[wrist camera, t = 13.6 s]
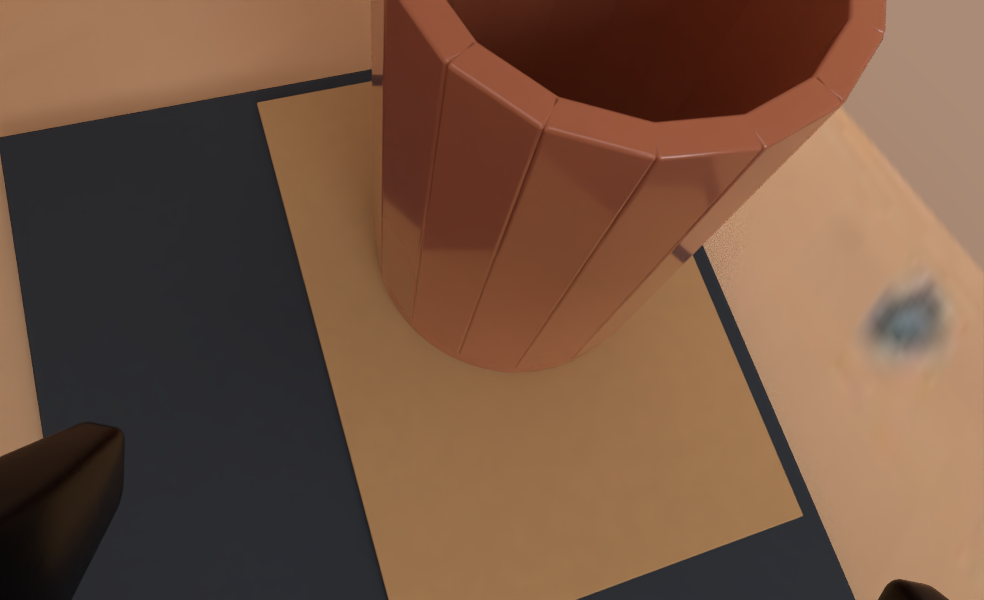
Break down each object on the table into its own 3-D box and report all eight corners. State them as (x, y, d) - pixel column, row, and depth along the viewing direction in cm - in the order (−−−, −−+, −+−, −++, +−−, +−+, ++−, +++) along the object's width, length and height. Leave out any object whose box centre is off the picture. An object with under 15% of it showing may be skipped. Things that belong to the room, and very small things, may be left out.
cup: (619, 402, 18) (882, 219, 9) (343, 335, 18) (305, 66, 8) (655, 163, 20) (892, -185, 11) (412, 99, 20) (444, -319, 11)
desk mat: (1016, 996, 16) (1039, 1011, 15) (207, 1466, 12) (199, 1511, 11) (604, 34, 22) (610, 20, 22) (4, 145, 19) (-7, 132, 18)
